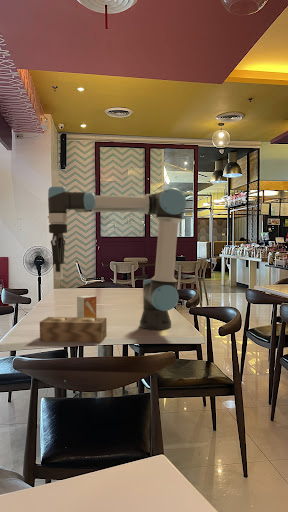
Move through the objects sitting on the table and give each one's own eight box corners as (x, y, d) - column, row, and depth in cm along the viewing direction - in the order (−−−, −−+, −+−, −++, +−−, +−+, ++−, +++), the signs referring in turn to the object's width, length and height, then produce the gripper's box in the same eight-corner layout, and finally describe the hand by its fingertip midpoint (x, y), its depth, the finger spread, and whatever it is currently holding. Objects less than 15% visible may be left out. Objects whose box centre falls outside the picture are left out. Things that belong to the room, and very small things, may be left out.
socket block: (106, 336, 176) (106, 317, 176) (101, 342, 165) (101, 323, 165) (48, 334, 179) (48, 316, 178) (39, 341, 168) (39, 322, 168)
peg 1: (66, 335, 175) (66, 317, 175) (63, 338, 170) (62, 319, 170) (55, 335, 175) (55, 317, 175) (51, 338, 170) (51, 319, 170)
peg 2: (96, 336, 174) (95, 318, 173) (93, 339, 169) (93, 320, 168) (84, 336, 174) (84, 317, 174) (81, 339, 169) (81, 320, 169)
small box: (84, 323, 203) (83, 297, 202) (76, 321, 207) (76, 296, 207) (96, 321, 208) (96, 296, 208) (89, 319, 213) (89, 294, 212)
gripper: (54, 224, 177) (55, 277, 178) (44, 223, 164) (45, 281, 166) (70, 224, 177) (71, 277, 178) (61, 223, 164) (63, 281, 165)
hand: (59, 279), depth 172 cm, fingers closed
